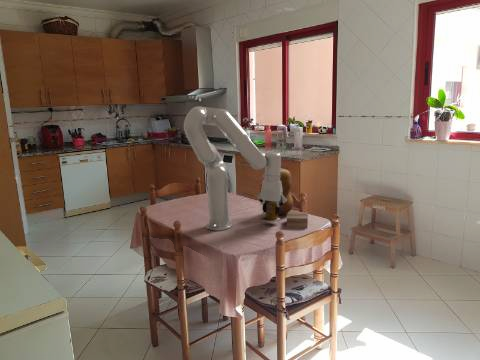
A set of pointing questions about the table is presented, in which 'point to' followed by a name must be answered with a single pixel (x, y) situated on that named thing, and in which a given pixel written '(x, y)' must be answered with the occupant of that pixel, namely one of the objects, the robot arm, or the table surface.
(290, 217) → the beige square block
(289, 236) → the table surface
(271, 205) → the condiment
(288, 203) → the butternut squash
